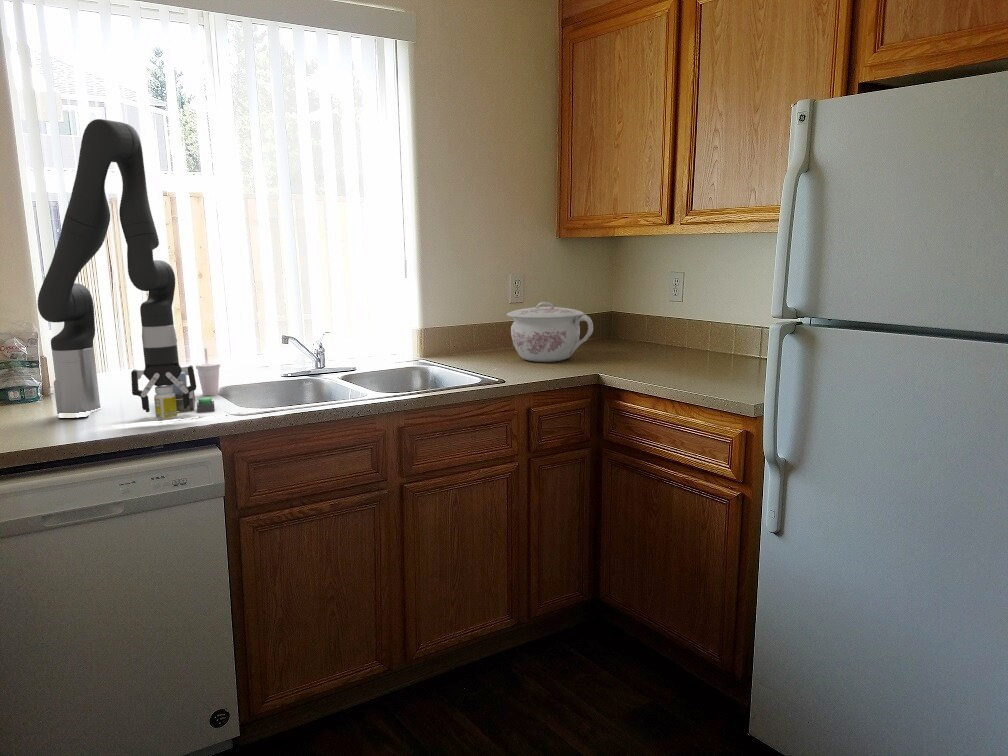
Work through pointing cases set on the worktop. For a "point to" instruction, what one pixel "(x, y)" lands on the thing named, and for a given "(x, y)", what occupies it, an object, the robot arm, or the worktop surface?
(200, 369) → the smoothie
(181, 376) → the blue block
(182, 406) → the gray open tray
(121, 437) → the worktop surface
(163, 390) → the supplement bottle
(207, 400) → the button
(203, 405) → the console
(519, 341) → the chamber pot
